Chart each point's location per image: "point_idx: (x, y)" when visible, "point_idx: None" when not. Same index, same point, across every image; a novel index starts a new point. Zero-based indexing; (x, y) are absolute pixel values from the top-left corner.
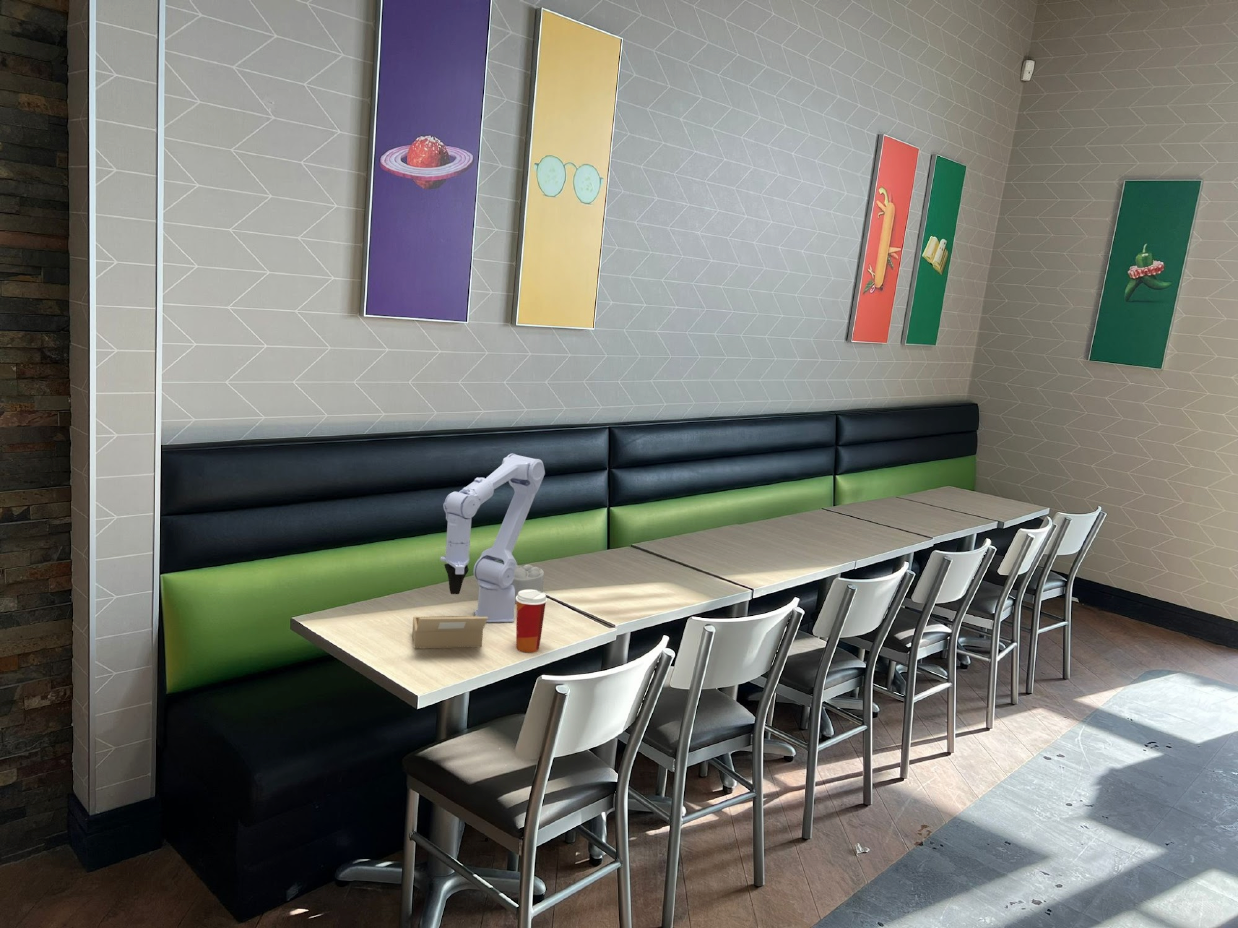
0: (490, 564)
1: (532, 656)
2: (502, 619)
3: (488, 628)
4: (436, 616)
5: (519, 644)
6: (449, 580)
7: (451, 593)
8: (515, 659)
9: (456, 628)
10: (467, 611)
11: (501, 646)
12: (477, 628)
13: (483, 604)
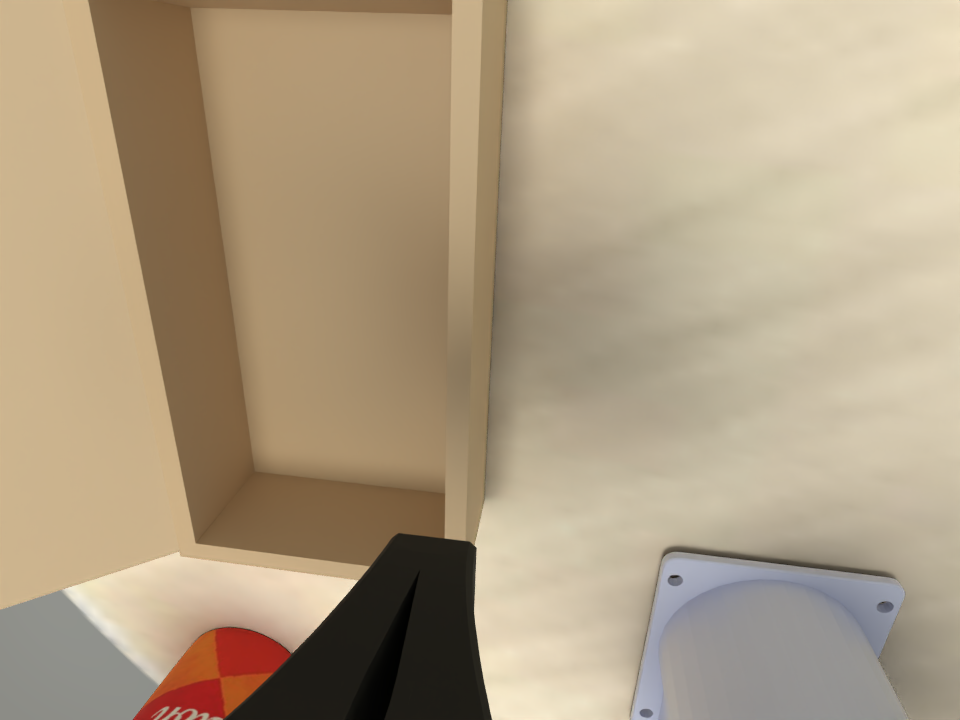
0: None
1: (147, 659)
2: (658, 688)
3: (552, 579)
4: (474, 252)
5: (186, 660)
6: (232, 713)
7: (387, 545)
8: (97, 584)
9: (43, 375)
10: (933, 537)
11: (263, 570)
12: (100, 527)
13: (726, 690)
